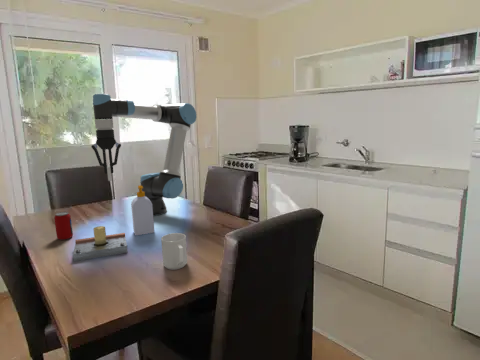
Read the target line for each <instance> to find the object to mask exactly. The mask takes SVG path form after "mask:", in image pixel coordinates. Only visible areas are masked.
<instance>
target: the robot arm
mask: <svg viewBox="0 0 480 360" xmlns="http://www.w3.org/2000/svg"><path fill="white" fill-rule="evenodd" d="M92 108H93V115H94V125H95V129H96V130H95V134H96V141H95V143H94V144H91V146H90V147H91V148H92V150H93V151H94V154H95V156H96V159H97V161H98V165H99V166H101V167H102V168H104V169H103V170H104V174H105V175H107V181H108V182H111V181H113V180H112V174H113V173H114V167H115V166H116V165H117V164H118V158H119V153H120V149H121V147H122V144H121V143H119V142H117V140H116V139H115V131H114V130H115V129H114V120H113V117H114V118H126V119H127V118H129V119H139V120H141V119H142V120H152V121H153V122H156V123H163V124H168V125H169V126H170V128H171V129H170V132H169V133H170V134H169V138H168V143H167V150H166V153H165V160H164V165H163V168H162V170H161V171H159V172H151V173H146V174H142V175H141V176H140V182H139V183H140V185H142V186H143V188H142V191H143V192H145V197H147V198H148V199H149V200H150V201H151V203H152V207H153V217H154V216H159V215H163V214H165V213H167V210H168V209H167V206H166V203H165V201H164V198H166V199H176V198H178V197H179V196H180V195H181V194H182V192H183V190H184V183H183V180H182V179H181V177H182V175H181V174H180V168H181V162H182V159H183V158H182V157H183V151H184V147H185V141H186V137H187V132H188V131H189V130H191V126H192V125H194V123H196V120H197V111H196V108H195V107H194V105H192V104H191V103H188V102H180V103H178V102H177V103H168V104H153V105H147V104H146V105H145V104H138V103H134V101H133V100H132V99H127V98H126V99H125V98H112V97H111V95H110V93H109V94H108V93H94V94H93V95H92ZM114 146H115V154H114V159H113V153H112V150H113V148H114ZM98 147H99V149H100V150H102V158H101V156H100V153H99V151H98ZM107 150H108V158H109V159H108V160H109V165H108V163H107V154H106V151H107ZM102 159H103V161H102Z"/></svg>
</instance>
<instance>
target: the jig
mask: <svg viewBox="0 0 480 360" xmlns="http://www.w3.org/2000/svg"><path fill="white" fill-rule="evenodd" d="M106 241H107V244H106V245H104V246H99V247H97V246H95V238H94V236H93V237H87V238H86V237H85V238H79V239H78V238H77V239H75V241H74V250H73V253H72V256H73V262H78V261H85V260H90V259H91V260H92V259H95V258H96V259H97V258H103V257H108V256H117V255H121V254H126V253H128V252H129V251H128V243H127V239H126V233H125V232H121V233H115V234H106Z"/></svg>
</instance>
